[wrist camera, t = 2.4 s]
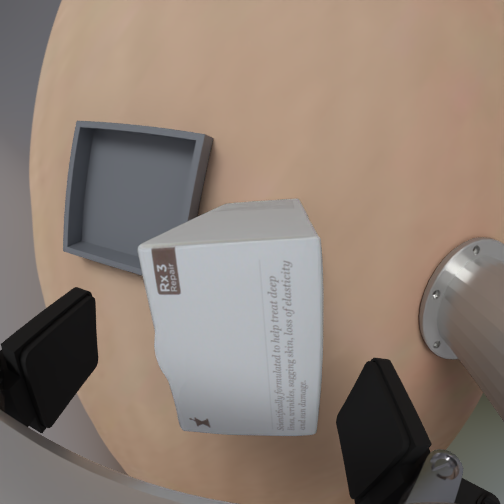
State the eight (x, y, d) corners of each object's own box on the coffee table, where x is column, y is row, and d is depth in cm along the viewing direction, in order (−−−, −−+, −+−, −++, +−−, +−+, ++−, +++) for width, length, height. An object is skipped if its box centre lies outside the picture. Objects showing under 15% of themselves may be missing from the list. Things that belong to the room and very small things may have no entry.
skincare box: (303, 295, 24) (325, 442, 10) (229, 299, 25) (180, 440, 11) (298, 191, 22) (336, 236, 8) (218, 197, 23) (125, 250, 8)
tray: (213, 138, 21) (204, 134, 19) (187, 273, 24) (177, 285, 22) (94, 123, 22) (76, 120, 19) (80, 243, 25) (63, 251, 22)
